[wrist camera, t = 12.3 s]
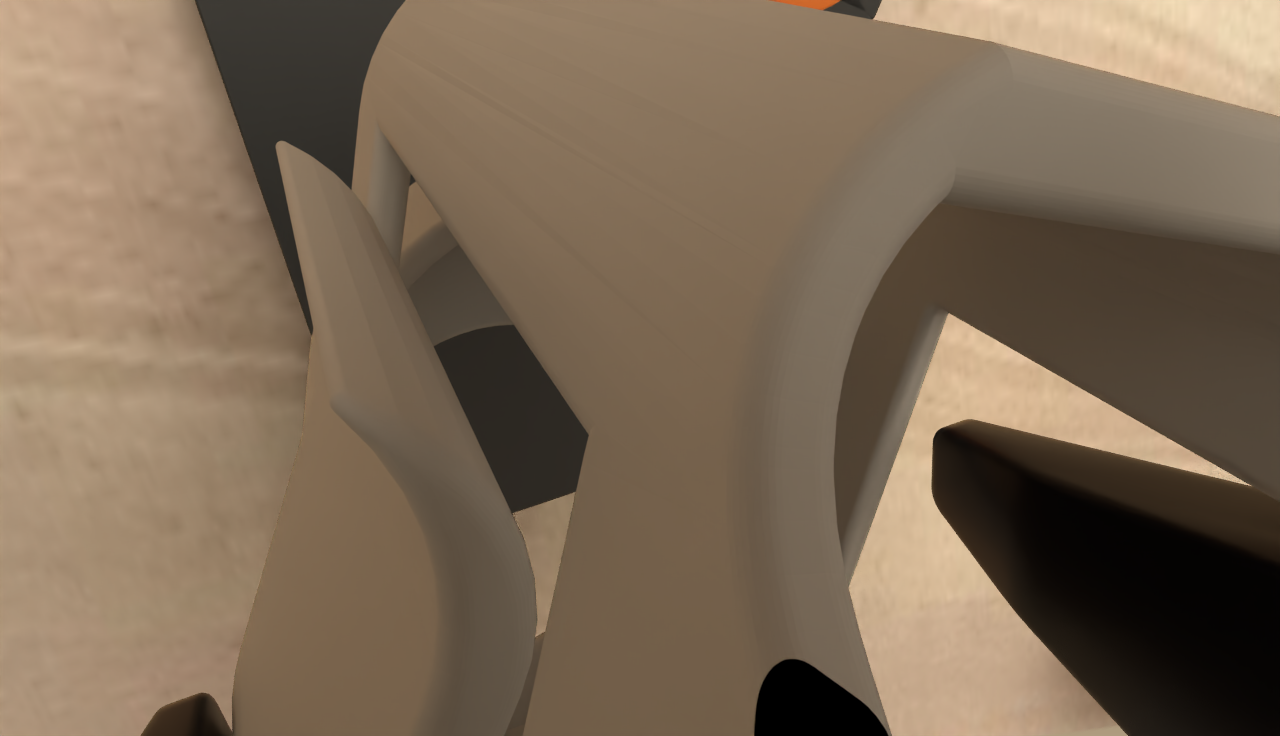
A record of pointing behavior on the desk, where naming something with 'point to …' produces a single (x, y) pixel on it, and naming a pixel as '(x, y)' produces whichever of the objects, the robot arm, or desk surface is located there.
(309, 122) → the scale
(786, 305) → the beige plastic holder
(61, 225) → the desk surface
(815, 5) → the button
